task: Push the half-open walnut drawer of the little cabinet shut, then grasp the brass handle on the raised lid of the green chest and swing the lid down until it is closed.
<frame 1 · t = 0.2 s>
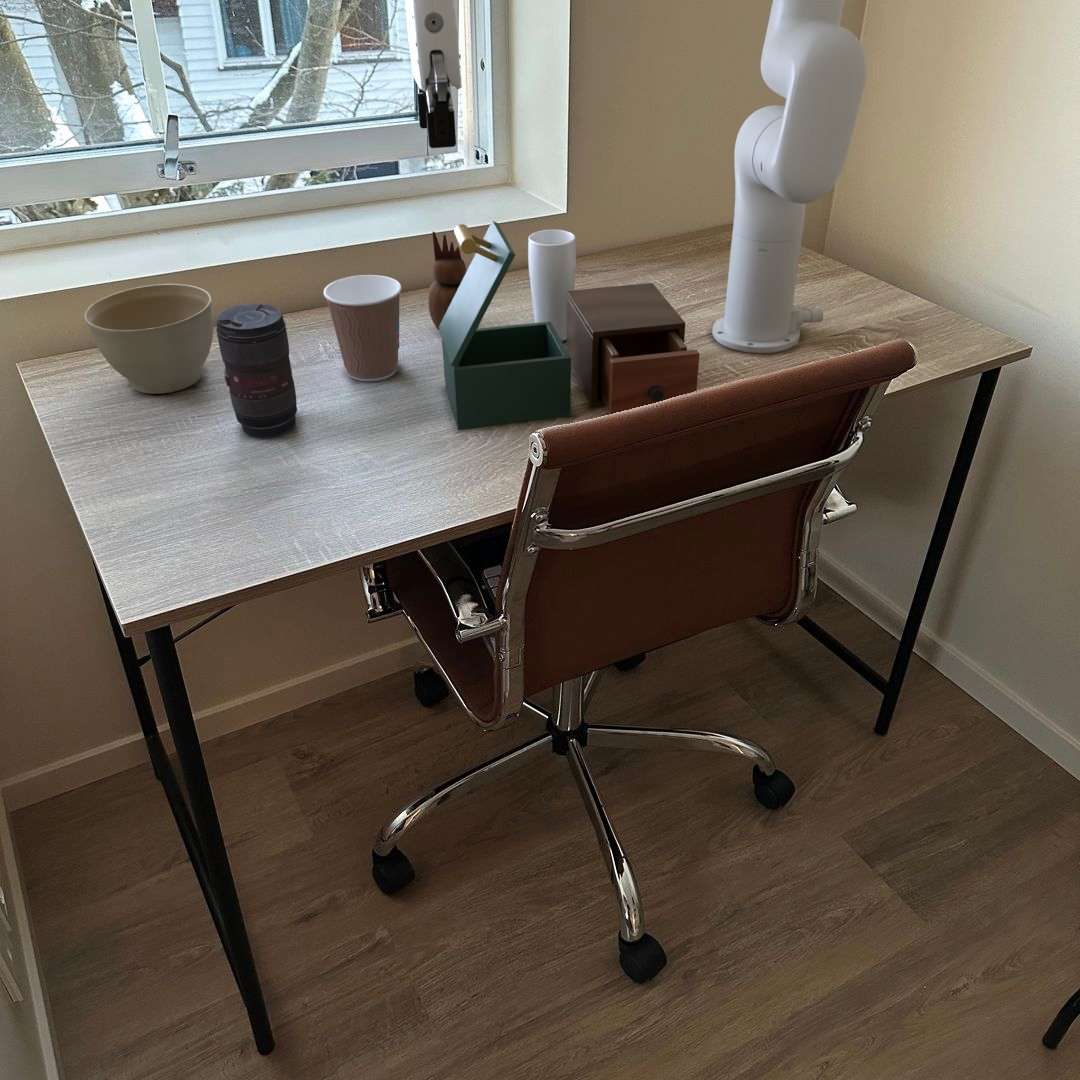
hand: (437, 136, 125), 31 cm above the table, tool pointing down, fingers open, 9 cm apart
lid: (457, 285, 124), point 17 cm above the table, hinge at 60.0°
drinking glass: (552, 338, 151), on the table
cabinet: (621, 379, 139), on the table
drawer: (640, 370, 129), point 5 cm above the table, slide at 6.0 cm
wooden figurine: (453, 331, 154), on the table
chest: (506, 403, 134), on the table
coffee cup: (372, 372, 143), on the table
planter bowl: (167, 381, 141), on the table
camera lens: (270, 427, 130), on the table
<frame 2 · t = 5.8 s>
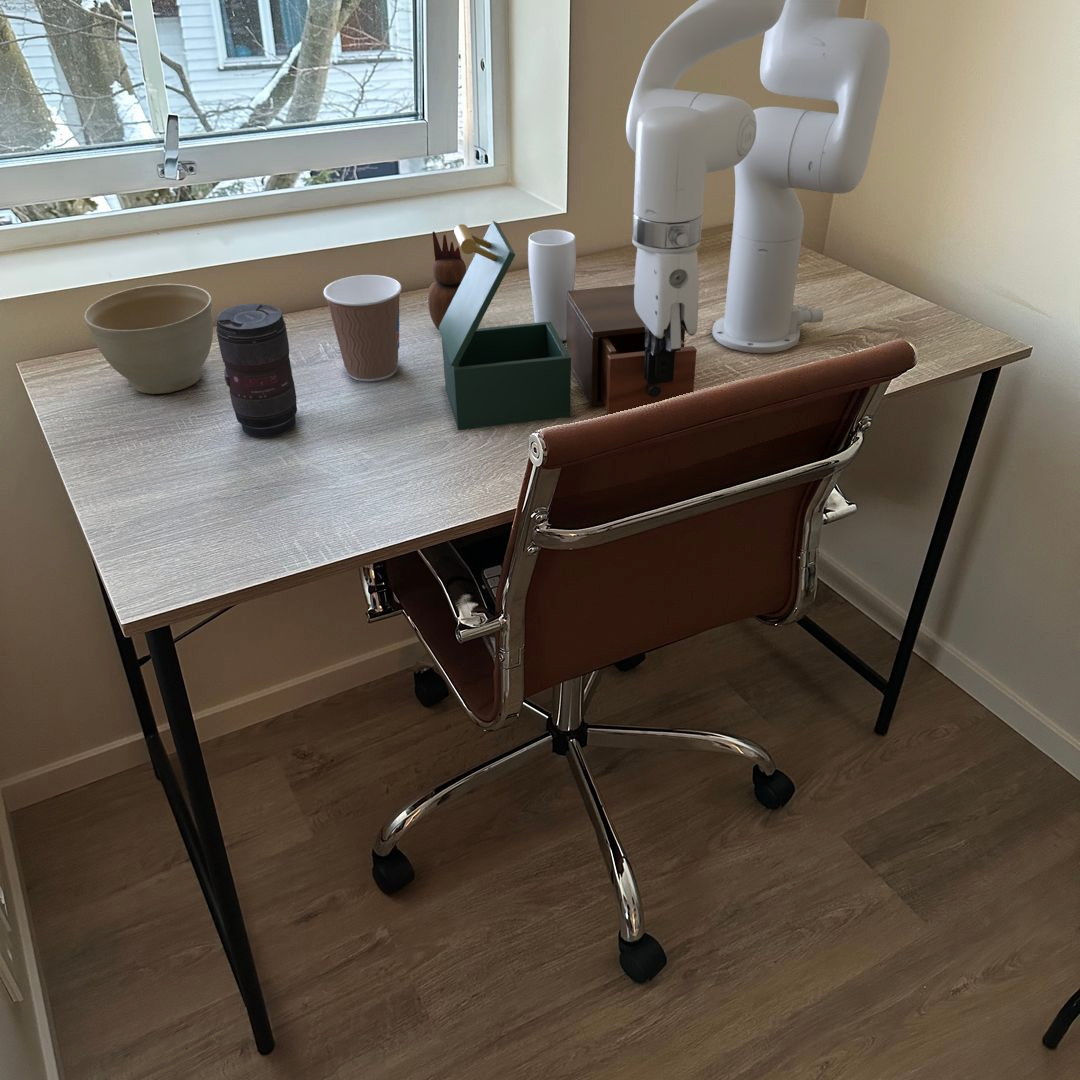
hand: (658, 380, 123), 7 cm above the table, tool pointing down, fingers closed
drawer: (638, 366, 130), point 5 cm above the table, slide at 4.9 cm, touching gripper
everything else where it was.
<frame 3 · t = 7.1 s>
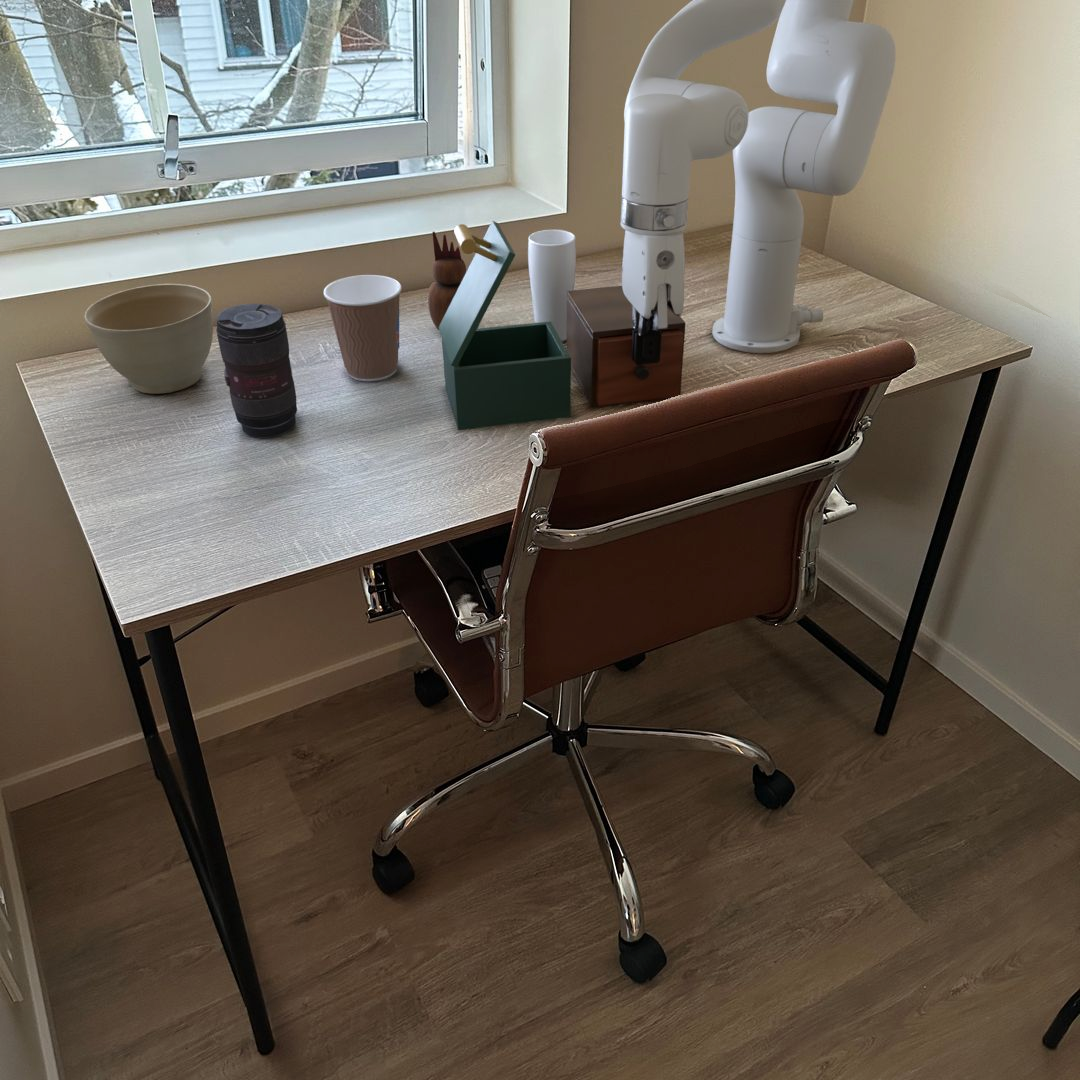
hand: (645, 361, 127), 7 cm above the table, tool pointing down, fingers closed
drawer: (627, 351, 134), point 5 cm above the table, slide at 0.0 cm, touching cabinet, gripper
everything else where it was.
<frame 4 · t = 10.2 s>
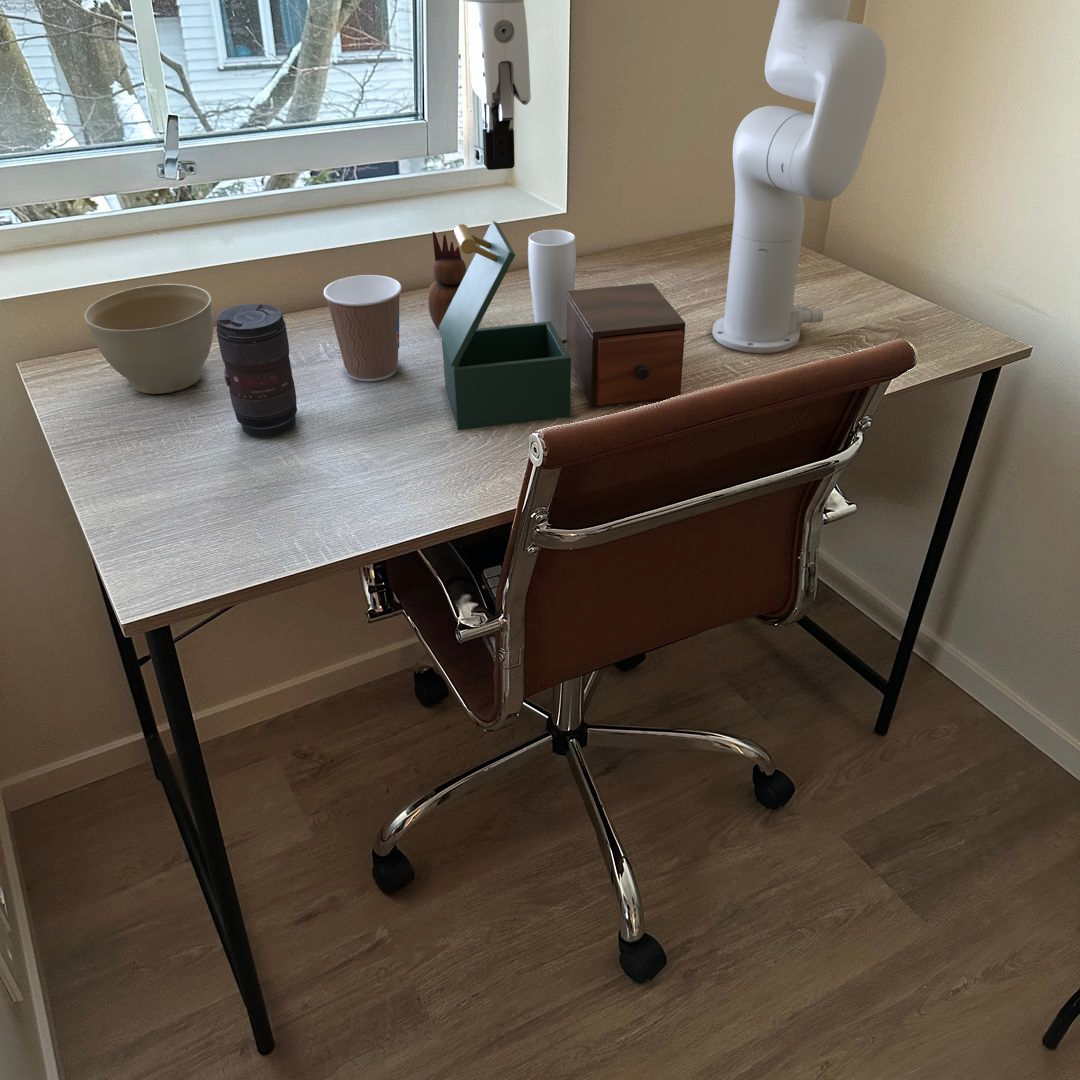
hand: (499, 166, 114), 31 cm above the table, tool pointing down, fingers closed
drawer: (627, 351, 134), point 5 cm above the table, slide at 0.0 cm, touching cabinet
everything else where it was.
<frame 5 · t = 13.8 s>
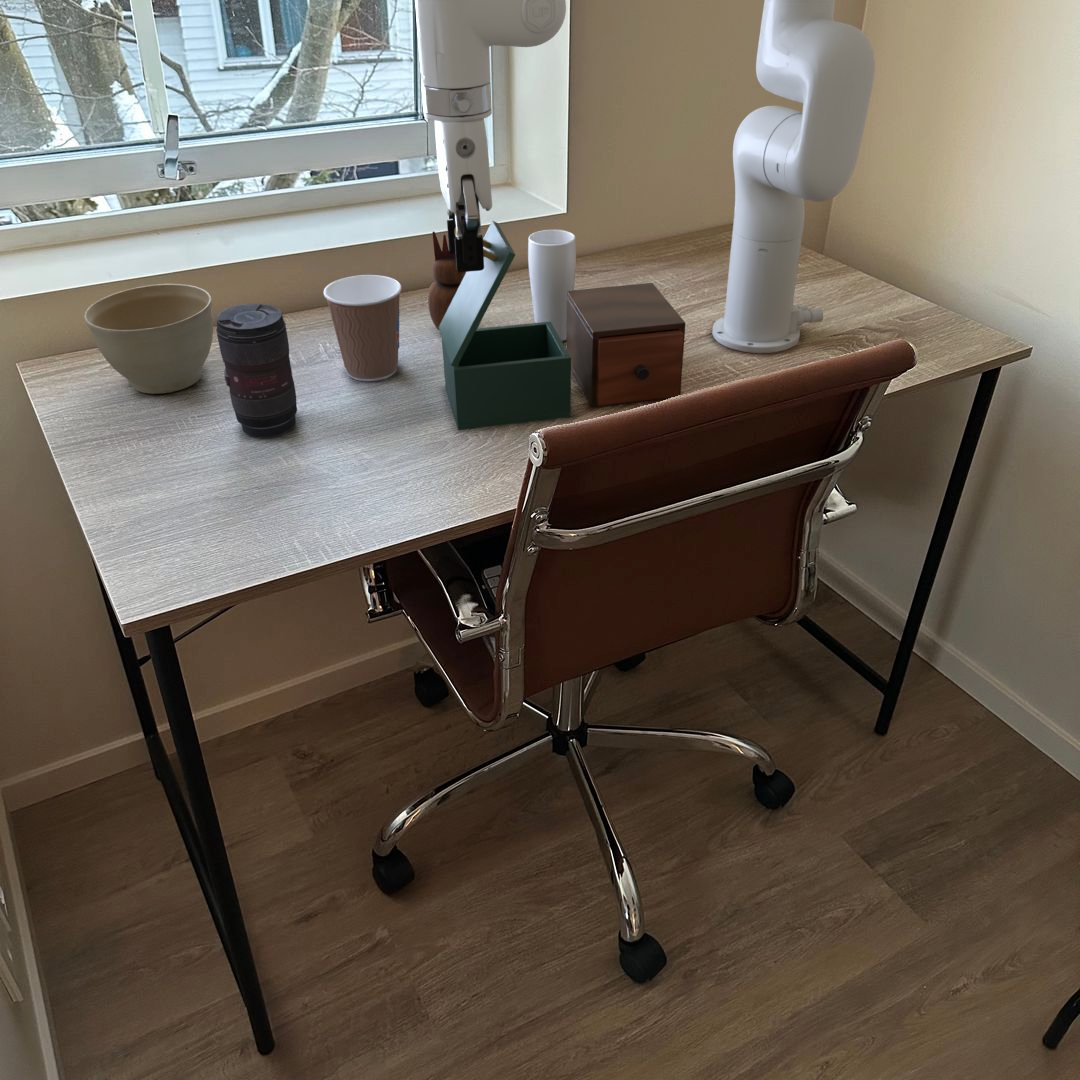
hand: (466, 259, 122), 20 cm above the table, tool pointing down, fingers closed on lid, 5 cm apart
lid: (457, 285, 124), point 17 cm above the table, hinge at 60.0°, touching gripper
everything else where it was.
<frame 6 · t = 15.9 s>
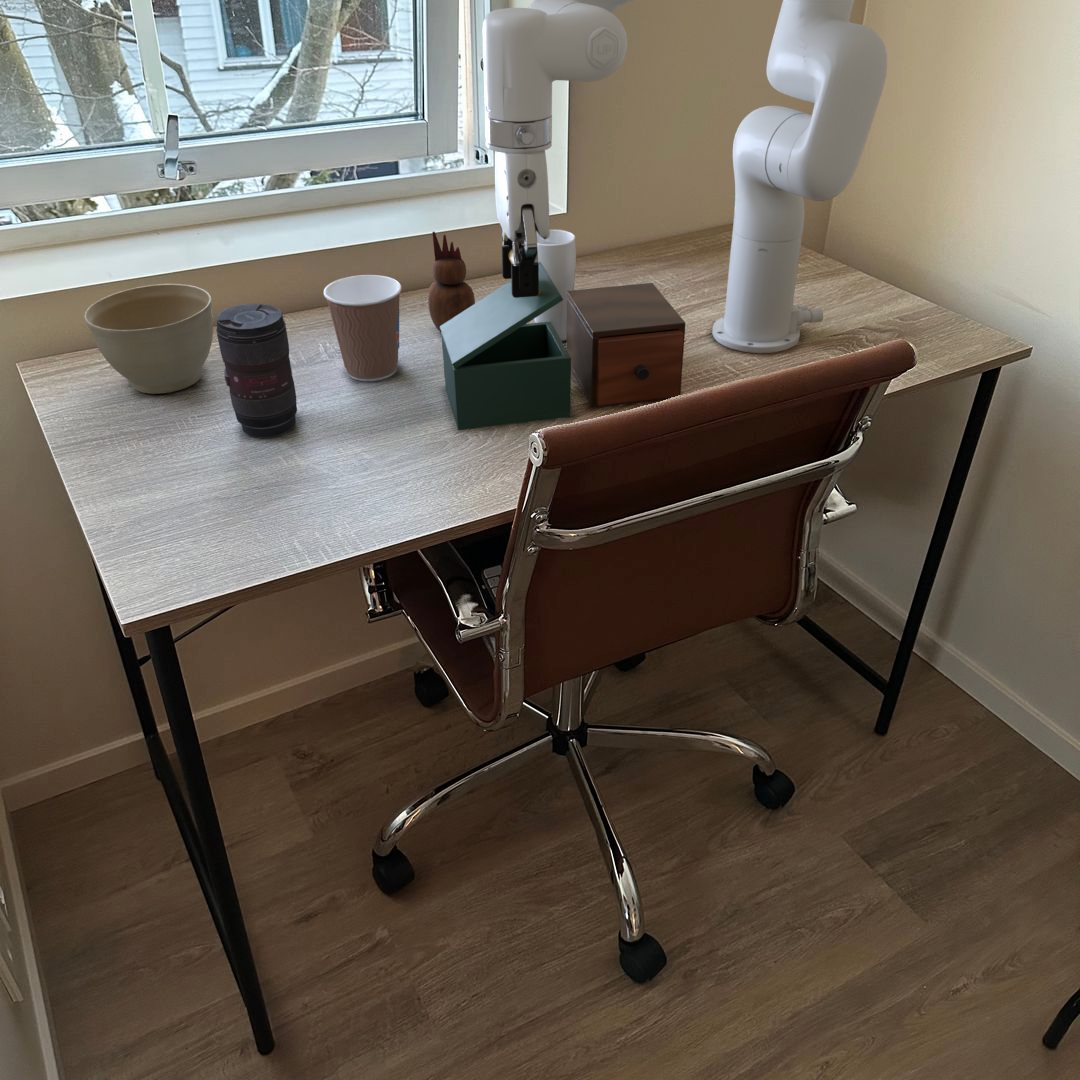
hand: (520, 285, 125), 16 cm above the table, tool pointing down, fingers closed on lid, 5 cm apart
lid: (489, 299, 125), point 14 cm above the table, hinge at 29.0°, touching gripper
everything else where it was.
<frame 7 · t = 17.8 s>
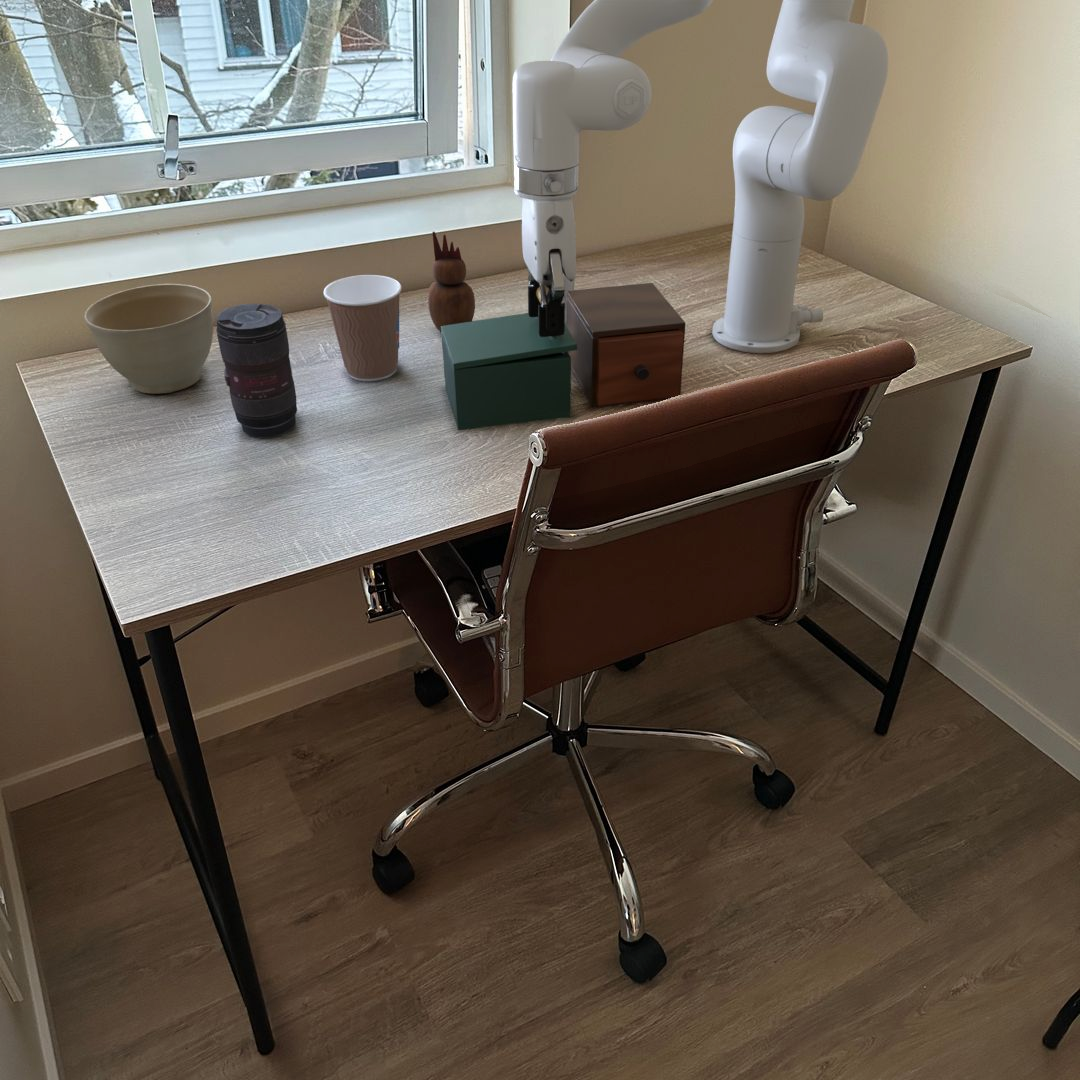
hand: (545, 324, 129), 11 cm above the table, tool pointing down, fingers closed on lid, 5 cm apart
lid: (505, 320, 128), point 11 cm above the table, hinge at 3.3°, touching gripper
everything else where it was.
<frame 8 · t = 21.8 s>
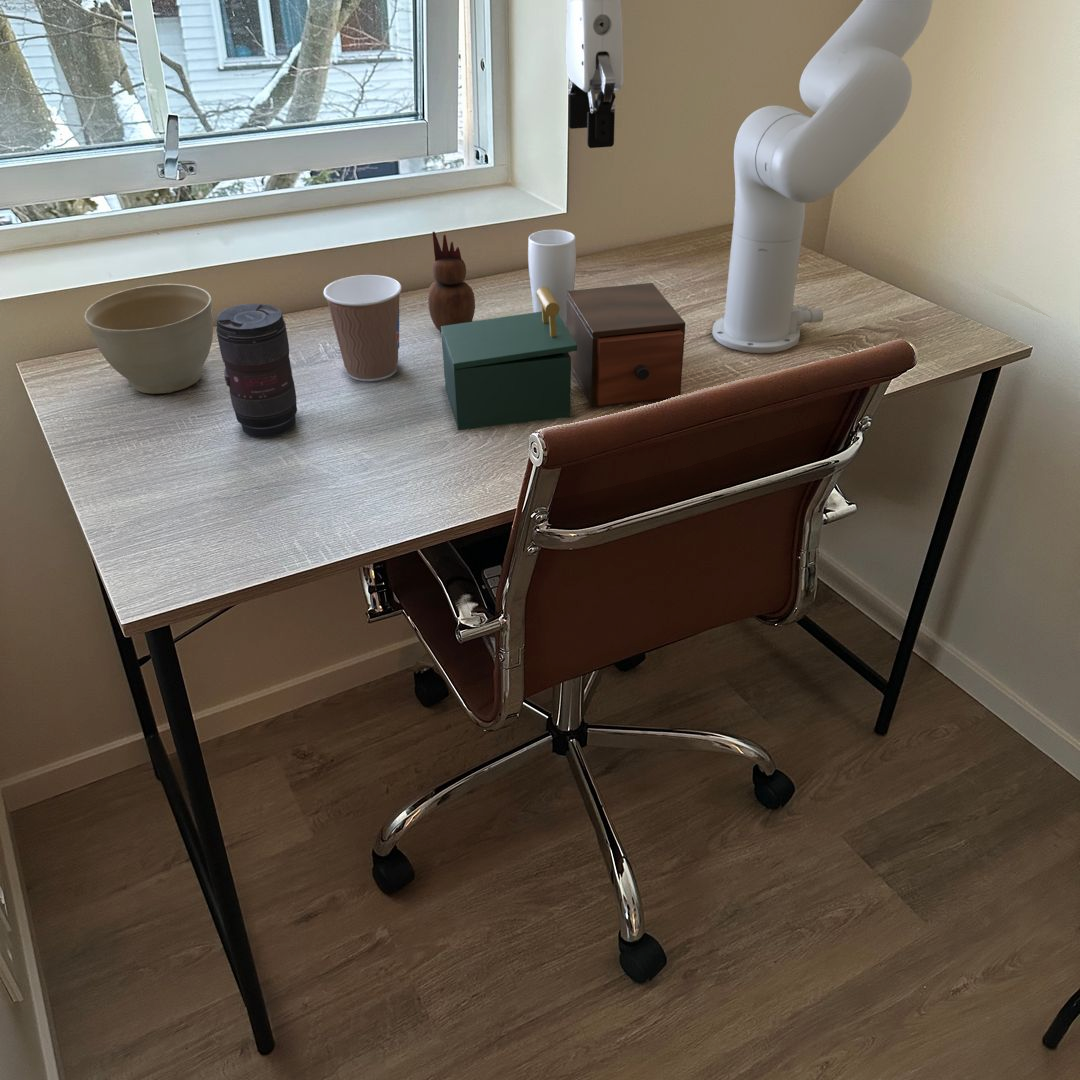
hand: (590, 136, 127), 30 cm above the table, tool pointing down, fingers open, 9 cm apart
lid: (505, 321, 128), point 11 cm above the table, hinge at 2.8°
everything else where it was.
at the end: drawer slide at 0.0 cm; lid at +3° (first picture: +60°) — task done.
